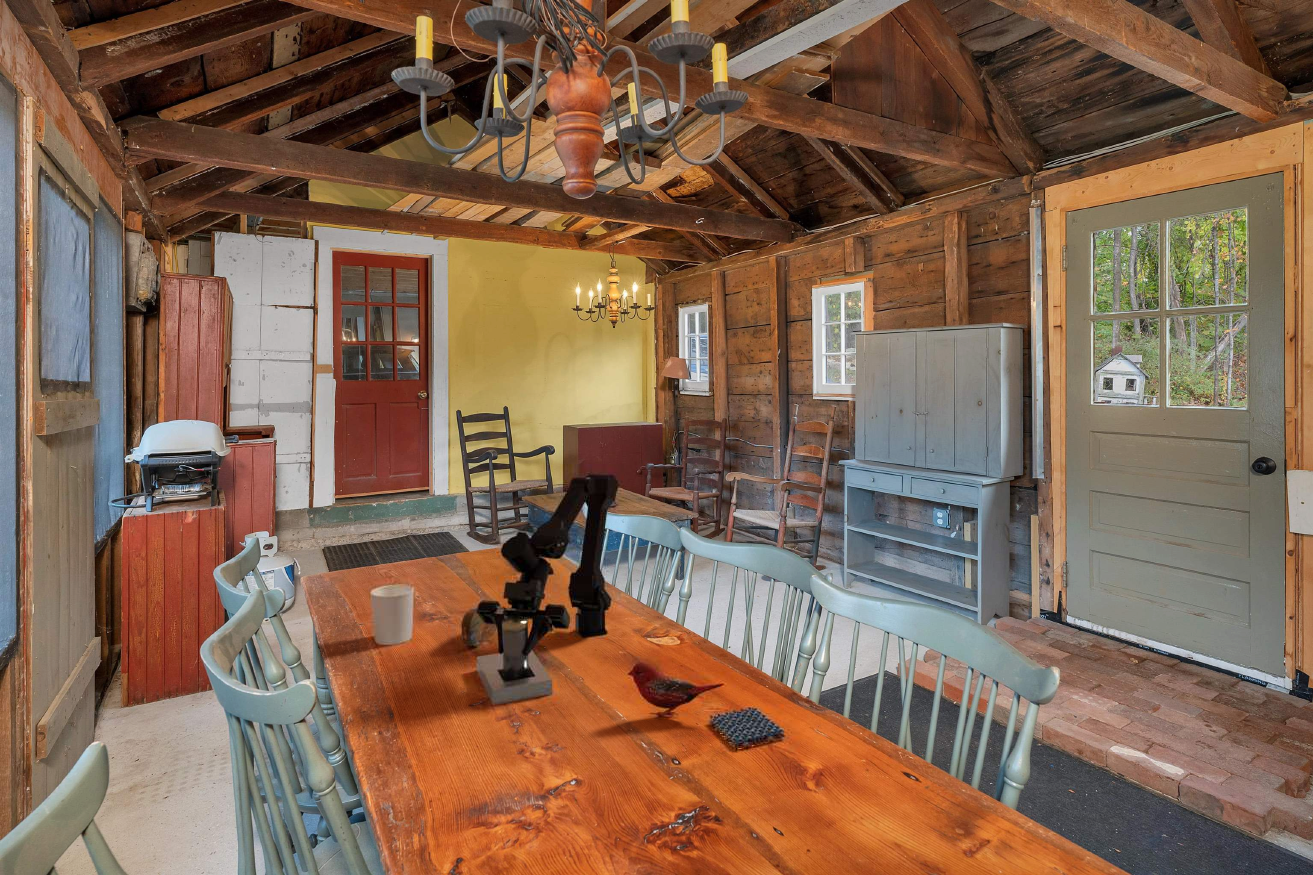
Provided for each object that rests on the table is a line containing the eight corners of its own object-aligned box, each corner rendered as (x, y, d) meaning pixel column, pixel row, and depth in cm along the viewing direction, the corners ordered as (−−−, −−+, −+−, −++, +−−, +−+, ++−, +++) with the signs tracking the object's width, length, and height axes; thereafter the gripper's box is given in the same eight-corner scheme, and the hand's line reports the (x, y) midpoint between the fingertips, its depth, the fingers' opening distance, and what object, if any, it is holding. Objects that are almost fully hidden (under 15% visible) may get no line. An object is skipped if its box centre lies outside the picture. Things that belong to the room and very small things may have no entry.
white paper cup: (423, 634, 167) (422, 586, 166) (396, 648, 157) (394, 598, 157) (391, 629, 170) (389, 582, 169) (362, 643, 161) (360, 593, 160)
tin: (471, 652, 156) (471, 616, 155) (459, 651, 156) (458, 615, 156) (499, 629, 170) (499, 596, 170) (488, 628, 171) (487, 595, 170)
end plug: (525, 676, 140) (524, 614, 139) (531, 686, 135) (530, 622, 135) (500, 680, 138) (499, 618, 137) (506, 690, 133) (504, 626, 132)
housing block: (530, 661, 150) (530, 648, 150) (552, 693, 134) (552, 679, 134) (476, 670, 145) (476, 656, 145) (492, 705, 129) (492, 690, 129)
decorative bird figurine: (627, 711, 126) (627, 659, 126) (723, 712, 126) (723, 660, 125) (626, 719, 124) (626, 665, 123) (724, 720, 123) (724, 666, 122)
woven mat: (735, 754, 112) (735, 743, 112) (706, 725, 122) (706, 715, 122) (788, 741, 117) (788, 730, 116) (756, 714, 126) (756, 704, 126)
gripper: (478, 562, 141) (454, 633, 131) (565, 566, 137) (547, 639, 127) (495, 588, 149) (474, 657, 139) (577, 593, 145) (561, 663, 135)
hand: (512, 653), depth 135 cm, fingers closed on end plug, 5 cm apart
